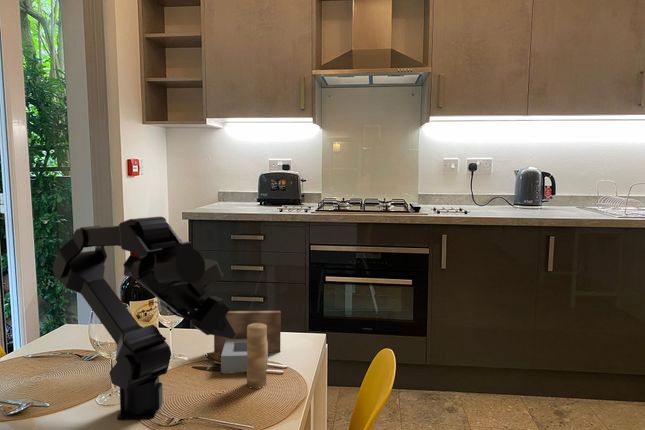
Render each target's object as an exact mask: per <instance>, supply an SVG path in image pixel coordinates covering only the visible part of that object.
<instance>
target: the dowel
mask: <svg viewBox="0 0 645 430" xmlns="http://www.w3.org/2000/svg"><path fill="white" fill-rule="evenodd" d="M266 362H267V325H265V324H262V323H253V324H250V325H248V326H247V373H246V382H247V383H246V386H247V385H248V386H249V387H251V388H250V389H252V388H259V387H263V386H265V385H266V386H267V372H266ZM248 386H247V387H248ZM266 386H265V387H266ZM249 387H248V388H249ZM263 388H264V387H263ZM259 389H260V388H259Z"/></svg>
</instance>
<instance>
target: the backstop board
mask: <svg viewBox="0 0 645 430" xmlns="http://www.w3.org/2000/svg"><path fill="white" fill-rule="evenodd" d="M281 314H282V312H281V310H235V311H234V310H229V311H228V313H227V314H226V318H227V320H228V322H229V323H230V325H231V327H232V329H233V330H234V332H235V336H234V337H233V338H226V337H221V336H216V335H213V353H214V354H222V351H223V348H224V345H225V341H226V339H247V326H248V325H250V324H253V323H262V324H265V325H267V338H268V353H281V332H282V331H281V325H282V324H281V323H282V322H281V321H282V320H281V319H282V318H281V317H282V315H281Z"/></svg>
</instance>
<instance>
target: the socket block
mask: <svg viewBox="0 0 645 430" xmlns="http://www.w3.org/2000/svg"><path fill="white" fill-rule="evenodd" d="M220 354H221V356H220V374H221V373H223V374H231V373H230V372H242V371H246V370H247V339H226V341H225V345H224V348H223V351H222V353H220ZM268 358H269V352H268V338H267V361H268ZM266 370H267V371H268V363H267V362H266Z"/></svg>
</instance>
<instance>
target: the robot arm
mask: <svg viewBox="0 0 645 430" xmlns="http://www.w3.org/2000/svg"><path fill="white" fill-rule="evenodd" d="M115 246H118V247H120V249H122V250H124V251H126V252H131V253H134V254H136V255H137V256H134V255H129V256H128V257H127V259H126V260H125V262H124V263H123V267H124V270H123V276H125V277H132V279H134V280H136V282H138V283H139V284H140V285H141V286H143V287H144V289H146V290H148V292H150V293H151V294H153V296H154V297H155V298H156V299H157V300H159V303H160V304H159V305H160V306H161V307H162V308H163V309H164V310H166V311H167V312H169V313H170V314H173V315H174V316H176V317H179V318H183V319H185V320H189V321H191V325H192V326H193V327H195V329H197V330H198V331H200V332H201V333H203V334H205V335H206V336H210V335H211V336H214V335H216V336H221V337H226V338H233V337H234V336H235V332H234V330H233V329H232V327H231V325H230V323H229V322H228V320H227V318H226V314H227V313H228V311H231V305H230V304H229V303H228V302H227V301H226V300H224V299H223V298H221V297H219V296H216V295H211V296H207V297H206V298H205V299H204V298H202V297H204V296H205V294H206V293H207V290H206V288H207V287H209V286H210V285H212V284H213V283H215V282H217V281H220V280H221V279H222V278H223V277H224V274H223V272H222V270H221V267H220V265H219V264H218V262H217V261H216V260H213V259H211V258H206V259H205V258H203V256H202V255H201V253H200V252H199V251H198V250H196V249H194V248H193V246H192V243H191V241H185V242H183V241H182V239H181V238H180V237H179V236H178V235H177V233H176V232H175V231H174V230H173V228H172V226H171V225H170V224H169V223H168V222H167V219H166V217H163V216H151V217H150V216H149V217H139V218H130V219H127V220H125V221H122V222H120V223H119V224H118V225H110V226H109V225H108V226H107V225H106V226H101V225H92V226H91V225H90V226H82V227H79V228H77V229H75V230H74V233H73V235H72V237H71V239H70V240H69V241H67V242H66V243H65V244H64V245H63V246H62V247H61V248H59V250H58V251H57V254H56V257H55V259H54V262H53V266H52V271H53V275H54V277H55V278H56V279H57V280H58V281H59V283H60V284H62V285H63V286H64V287H65V288H66V289H68V290H70V291H73V292H75V293H78V294H80V295H81V296H82V297H83V298H84V300H85V302H86V303H87V304H88V305H89V307H90V308H91V310H92V312H93V313H94V314H95V315H96V317H97V319H98V320H99V321H100V322H101V324H102V326H103V327H104V328H105V329H106V332H107V333H108V334H109V335H110V337H111V338H112V339H113V341H114V342H115V344H116V353H115V355H116V356H115V361H116V363H115V364H114V365H113V367H112V368H111V369H110V370H109V375H110V376H109V377H110V381H111V384H112V385H115V386H116V387H118V388H119V405H120V407H119V409H120V411H119V413H118V414H117V416H116V419H117V420H149V419H154V418H155V417H156V414H157V413H158V411H159V410H160V409H161V407H162V404H163V402H164V401H163V397H164V396H163V383H162V382H160V377H161V376H162V375H166V374H168V373H167V372H168V370H169V365H170V361H171V358H172V351H171V347H170V345H169V343H168V342H167V341H166V340H167V338H166V337H165V336H164V335H163V334H161V332H160V329H158V327H157V326H156V325H154V324H150V325H147V326H144V327H143V326H141V325H140V324H139V323H138V321H137V320H136V318H135V317H134V316H133V315H132V313H131V312H130V311H129V309H128V308H127V307H126V305H125V304H124V303H123V302H122V300H121V299H120V298H119V296H118V294H117V293H116V292H115V291H114V289H113V288H112V287H111V285H110V284H109V283H108V281H107V280H106V279H105V277H104V275H105V267H106V266H105V263H106V260H107V258H108V254H107V251H106V249H105V247H115ZM91 247H92V248H93V247H95V249H94V250H86V251H83V250H84V248H85V249H86V248H91Z"/></svg>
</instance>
